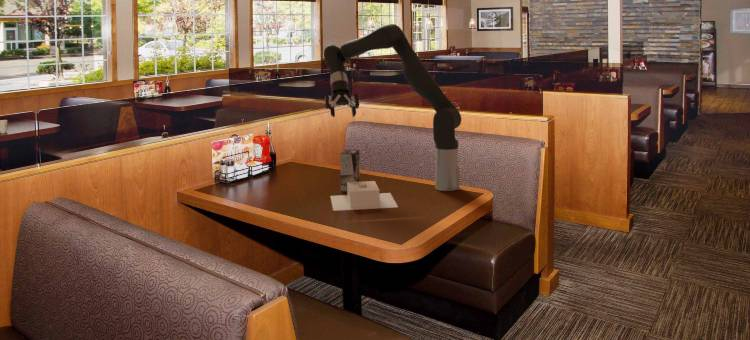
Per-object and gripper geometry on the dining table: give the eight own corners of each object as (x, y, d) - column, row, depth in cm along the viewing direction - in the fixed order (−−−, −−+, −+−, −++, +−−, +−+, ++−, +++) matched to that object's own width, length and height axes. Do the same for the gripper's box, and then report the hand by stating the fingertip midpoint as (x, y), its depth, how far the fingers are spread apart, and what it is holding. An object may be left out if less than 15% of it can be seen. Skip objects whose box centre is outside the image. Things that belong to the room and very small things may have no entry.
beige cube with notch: (375, 195, 242) (374, 180, 241) (379, 205, 229) (379, 190, 227) (347, 197, 241) (346, 182, 240) (350, 207, 228) (349, 191, 226)
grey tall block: (355, 192, 249) (354, 154, 245) (340, 192, 250) (339, 153, 247) (360, 187, 258) (359, 149, 254) (345, 186, 259) (344, 149, 255)
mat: (390, 194, 246) (390, 192, 246) (398, 208, 227) (398, 207, 227) (330, 197, 243) (330, 195, 243) (333, 212, 224) (333, 210, 224)
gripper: (324, 79, 260) (328, 111, 253) (357, 79, 264) (362, 110, 256) (322, 89, 267) (326, 121, 259) (354, 89, 270) (359, 120, 263)
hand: (344, 115), depth 258 cm, fingers open, 8 cm apart
